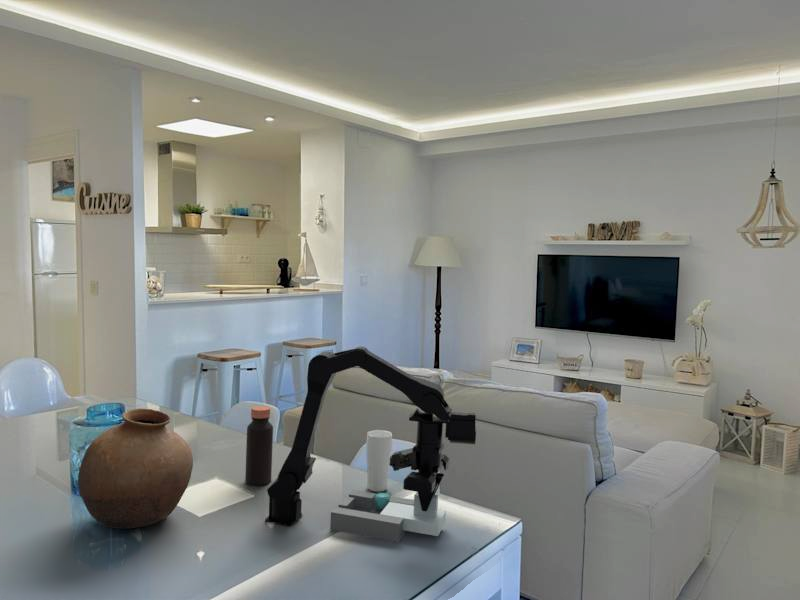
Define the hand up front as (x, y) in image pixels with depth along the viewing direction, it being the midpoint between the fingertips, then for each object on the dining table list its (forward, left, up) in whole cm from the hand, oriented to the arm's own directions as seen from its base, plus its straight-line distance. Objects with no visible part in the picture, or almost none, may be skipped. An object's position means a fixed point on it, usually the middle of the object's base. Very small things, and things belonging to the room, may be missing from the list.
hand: (425, 508), depth 133 cm
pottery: (-61, -20, -6) cm, 64 cm away
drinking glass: (-18, +20, -6) cm, 27 cm away
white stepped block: (-3, 0, -4) cm, 5 cm away
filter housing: (-12, 0, -5) cm, 13 cm away
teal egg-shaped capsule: (-12, +6, -4) cm, 14 cm away
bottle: (-49, +12, -6) cm, 51 cm away
